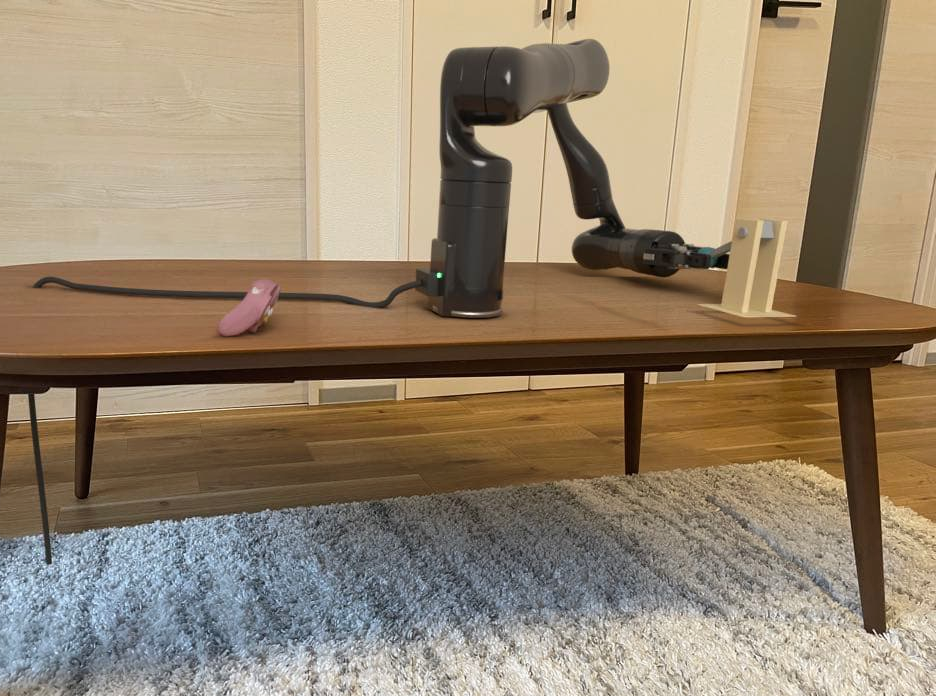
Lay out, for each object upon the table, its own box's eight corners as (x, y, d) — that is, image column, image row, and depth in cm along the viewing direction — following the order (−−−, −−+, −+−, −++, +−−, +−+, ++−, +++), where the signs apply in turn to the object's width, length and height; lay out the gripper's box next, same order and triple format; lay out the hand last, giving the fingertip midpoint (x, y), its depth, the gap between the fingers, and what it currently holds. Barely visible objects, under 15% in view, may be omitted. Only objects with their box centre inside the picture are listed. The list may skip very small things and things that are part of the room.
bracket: (695, 312, 114) (710, 216, 110) (745, 311, 117) (762, 217, 113) (742, 325, 105) (760, 221, 101) (795, 324, 108) (815, 223, 104)
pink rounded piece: (250, 352, 86) (278, 297, 84) (213, 332, 85) (240, 276, 83) (266, 333, 95) (291, 284, 93) (232, 315, 94) (257, 265, 93)
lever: (692, 270, 119) (689, 250, 119) (709, 270, 120) (707, 250, 120) (758, 240, 106) (755, 217, 106) (777, 240, 107) (774, 218, 107)
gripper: (617, 229, 128) (682, 235, 112) (689, 230, 132) (762, 236, 116) (612, 274, 130) (675, 287, 114) (684, 274, 134) (754, 286, 118)
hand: (719, 262), depth 115 cm, fingers closed on lever, 3 cm apart
